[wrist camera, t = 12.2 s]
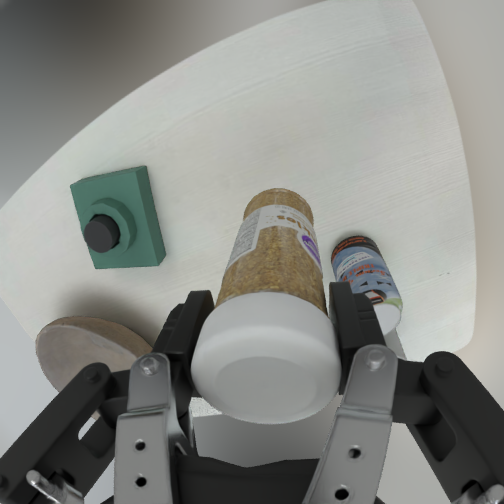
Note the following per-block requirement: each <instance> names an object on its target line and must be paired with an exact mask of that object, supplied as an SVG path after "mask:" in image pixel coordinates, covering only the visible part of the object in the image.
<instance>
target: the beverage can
mask: <svg viewBox="0 0 504 504" xmlns="http://www.w3.org/2000/svg"><path fill="white" fill-rule="evenodd" d="M331 263H332V267H333V271H334V274H335V278H336V282H339V281H349V283H350V286H351V290H352V293H364V294H365V295H366V296H367V297H368V298H370V299H371V301H372V304H373V307H374V311H375V312H376V315H377V319H378V321H379V324H380V327H381V330H382V333H383V336H384V335H386V334H388V333H390V332H391V331H393V330H394V329H395V328H396V327H397V326H398V324H399V322H400V320H401V312H402V299H401V297H400V294H399V292H398V290H397V288H396V285H395V283H394V281H393V279H392V276H391V274H390V272H389V270H388V268H387V266H386V263H385V261H384V259H383V257H382V255H381V253H380V251H379V249H378V247H377V245H376V243H375V242H374V241H373V240H371V239H370V238H368V237H364V236H353V237H349V238H347V239H345V240H343V241H342V242H340V243H339V244H338V245H337V246H336V247H335V249H334V251H333V253H332V256H331Z"/></svg>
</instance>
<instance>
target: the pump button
mask: <svg viewBox="0 0 504 504" xmlns="http://www.w3.org/2000/svg"><path fill="white" fill-rule="evenodd" d="M119 237H120V230H119V227H118V225H117V223H116V222H115V220H114V219H113V218H111V217H110V216H107V215H99V216H97V217H95V218H94V219H93V220H91V221H90V222H89V223H88V224H87V225H86V226H85V228H84V238H85V241H86V243H87V245H88V246H89V247H90V248H91V249H92V250H93V251H95V252H98V253H105V252H107V251H109V250H110V249H111V248H112V247H113V246H114V245H115V244H116V243H117V242H118V240H119Z"/></svg>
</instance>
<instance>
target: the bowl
mask: <svg viewBox="0 0 504 504" xmlns="http://www.w3.org/2000/svg"><path fill="white" fill-rule="evenodd" d="M152 349H153V348H152V347H151V346H150V345H149V344H148V343H147V342H146V341H145V340H144V339H143V338H142V337H141V336H139V335H137V334H136V333H135V332H133V331H132V330H130V329H128V328H126V327H125V326H123V325H121V324H118V323H114V322H111V321H107V320H104V319H99V318H93V317H81V316H72V317H64V318H60V319H57V320H55V321H53V322H51V323H50V324H48V325H46V326H45V327H44V328H43V329H42V330H41V331H40V333H39V334H38V335H37V338H36V354H37V357H38V360H39V363H40V366H41V368H42V371H43V373H44V374H45V376H46V377H47V379H48V380H49V381H50V383H51V384H52V385H53V387H55V389H56V390H57V391H58V392H59V393H60V392H61V391H62V389H63V388H64V387H65V386H66V385H67V384H68V383H69V382H70V381H71V380H72V379H73V378H74V377H75V376H76V375H77V374H78V373H79V371H80V370H81V369H83V368H84V367H85V366H87V365H89V364H91V363H95V362H101V363H104V364H106V365H107V366H108V367H109V369H110V370H111V372H117V371H123V370H128V369H131V366H132V364H133V363H134V361H135V360H136V359H138V358H139V357H140V356H142V355H144V354H147V353H151V351H152ZM91 417H92V418H94V419H95V420H97V419H98V418H99V417H100V415H99V414H98V413H97V411H95V412H94V414H93V415H92V416H91Z"/></svg>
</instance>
